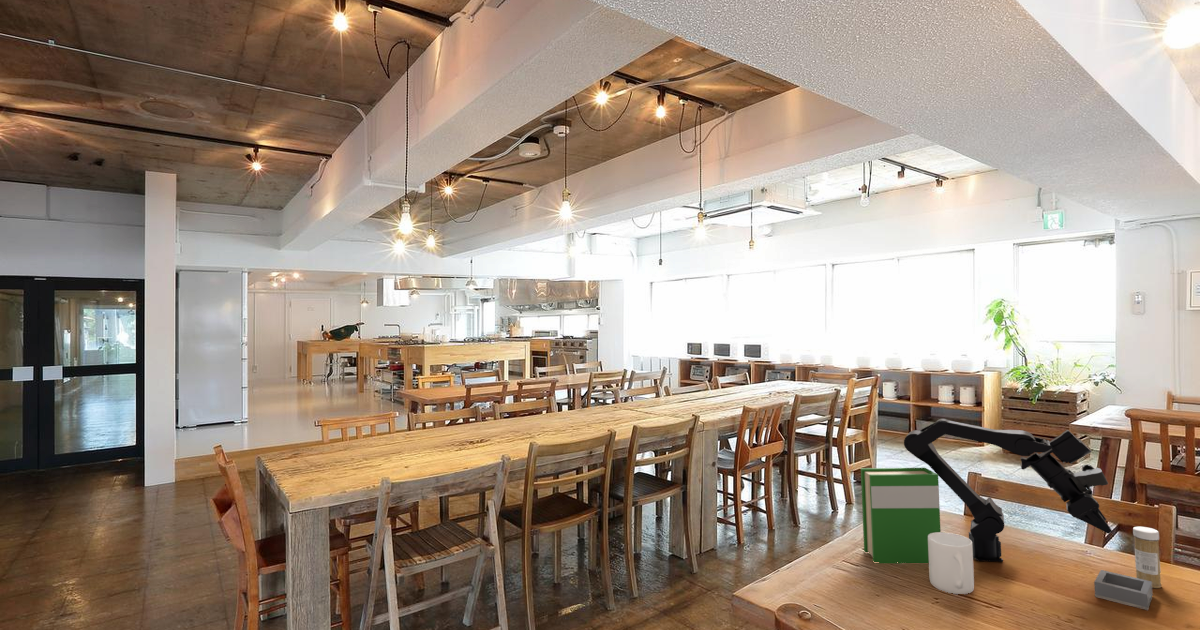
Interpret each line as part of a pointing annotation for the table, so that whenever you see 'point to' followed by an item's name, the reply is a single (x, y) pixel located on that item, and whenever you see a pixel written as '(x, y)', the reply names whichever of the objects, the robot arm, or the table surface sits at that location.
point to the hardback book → (899, 513)
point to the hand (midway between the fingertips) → (1107, 526)
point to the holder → (1123, 589)
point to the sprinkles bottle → (1147, 555)
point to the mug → (951, 562)
